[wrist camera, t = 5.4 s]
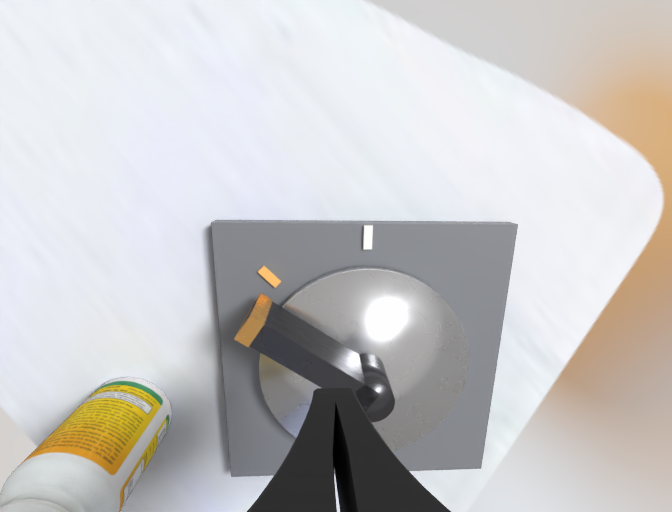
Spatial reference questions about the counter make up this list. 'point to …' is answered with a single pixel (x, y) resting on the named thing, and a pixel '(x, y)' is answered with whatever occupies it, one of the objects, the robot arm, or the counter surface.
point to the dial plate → (346, 251)
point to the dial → (361, 350)
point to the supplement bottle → (93, 452)
